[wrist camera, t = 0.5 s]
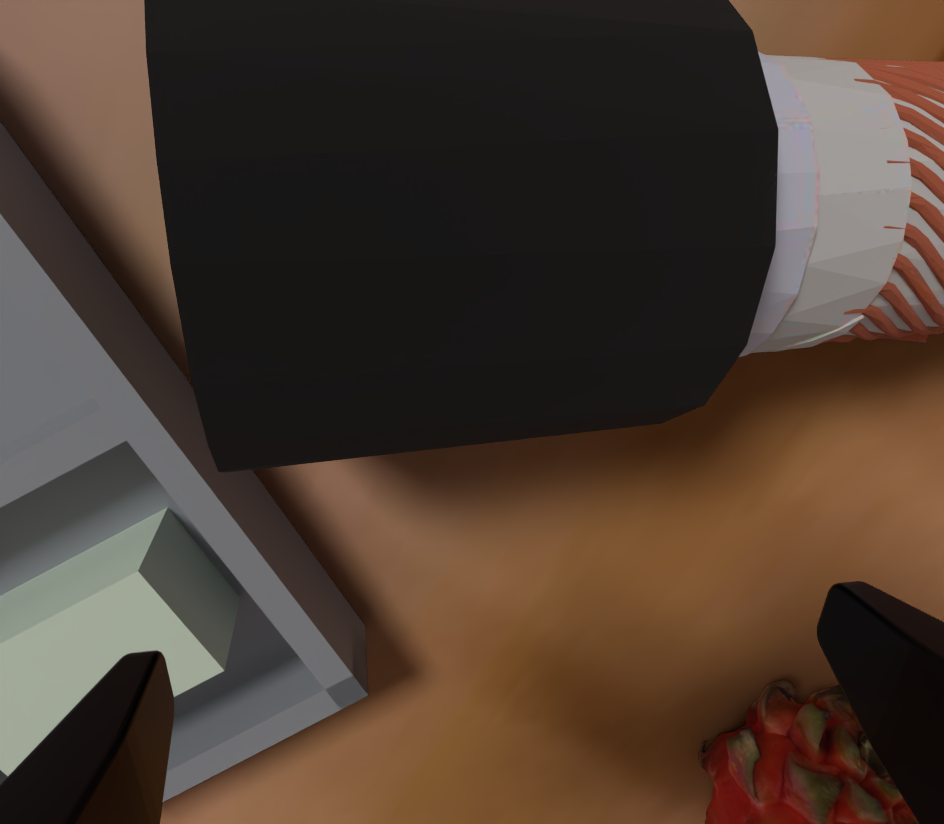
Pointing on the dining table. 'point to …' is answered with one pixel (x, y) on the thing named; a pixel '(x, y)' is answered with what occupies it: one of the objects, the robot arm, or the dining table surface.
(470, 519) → the dining table surface
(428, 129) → the black and white bottle
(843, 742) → the dragon fruit
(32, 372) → the tray
